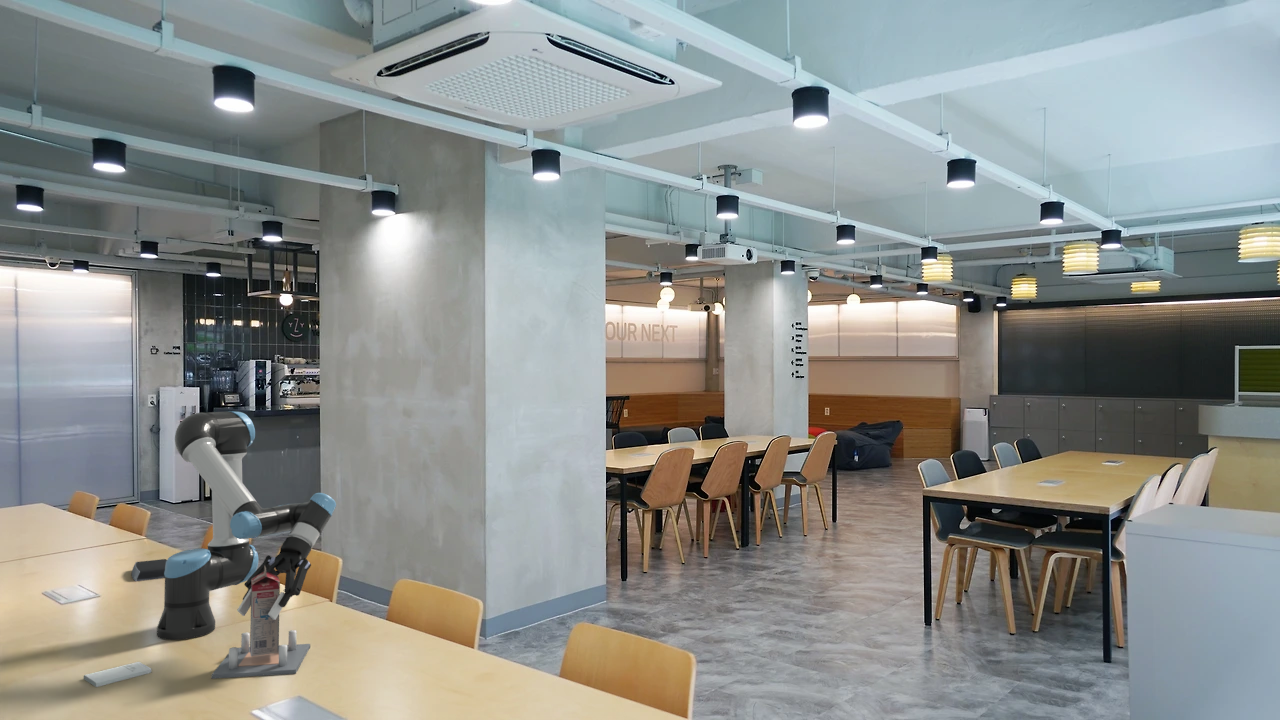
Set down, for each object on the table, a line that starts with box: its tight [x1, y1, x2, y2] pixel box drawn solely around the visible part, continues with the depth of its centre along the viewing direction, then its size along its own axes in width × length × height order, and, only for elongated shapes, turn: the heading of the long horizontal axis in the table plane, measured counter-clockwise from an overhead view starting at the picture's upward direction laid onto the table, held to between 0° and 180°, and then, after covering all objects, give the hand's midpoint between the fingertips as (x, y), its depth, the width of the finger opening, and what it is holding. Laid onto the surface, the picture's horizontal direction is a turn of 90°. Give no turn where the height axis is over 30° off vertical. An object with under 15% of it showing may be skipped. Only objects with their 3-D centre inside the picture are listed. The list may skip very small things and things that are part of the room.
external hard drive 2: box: [83, 661, 152, 688], centre depth 204 cm, size 2×8×12 cm
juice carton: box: [249, 566, 281, 656], centre depth 215 cm, size 7×7×22 cm
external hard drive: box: [131, 558, 168, 582], centre depth 304 cm, size 13×19×4 cm
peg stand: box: [210, 629, 311, 679], centre depth 215 cm, size 20×20×6 cm
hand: (256, 615), depth 212 cm, fingers closed on juice carton, 9 cm apart
